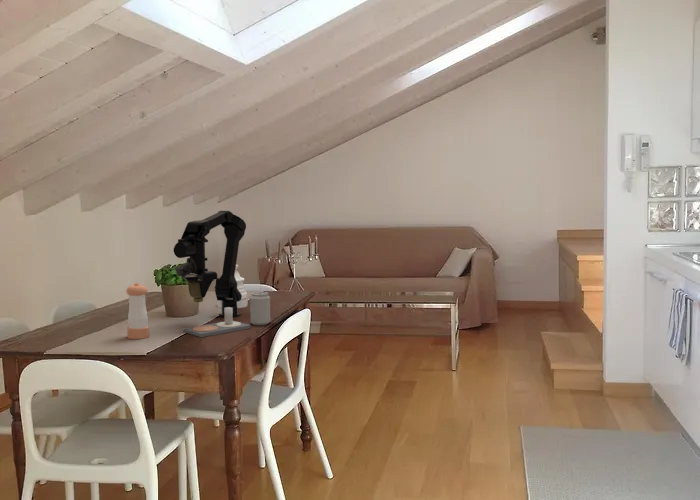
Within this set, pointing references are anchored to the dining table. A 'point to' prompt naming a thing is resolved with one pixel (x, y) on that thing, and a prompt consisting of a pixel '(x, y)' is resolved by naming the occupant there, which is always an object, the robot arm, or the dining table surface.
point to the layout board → (218, 326)
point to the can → (260, 308)
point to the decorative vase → (195, 291)
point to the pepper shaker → (137, 312)
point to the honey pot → (241, 289)
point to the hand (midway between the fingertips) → (198, 296)
